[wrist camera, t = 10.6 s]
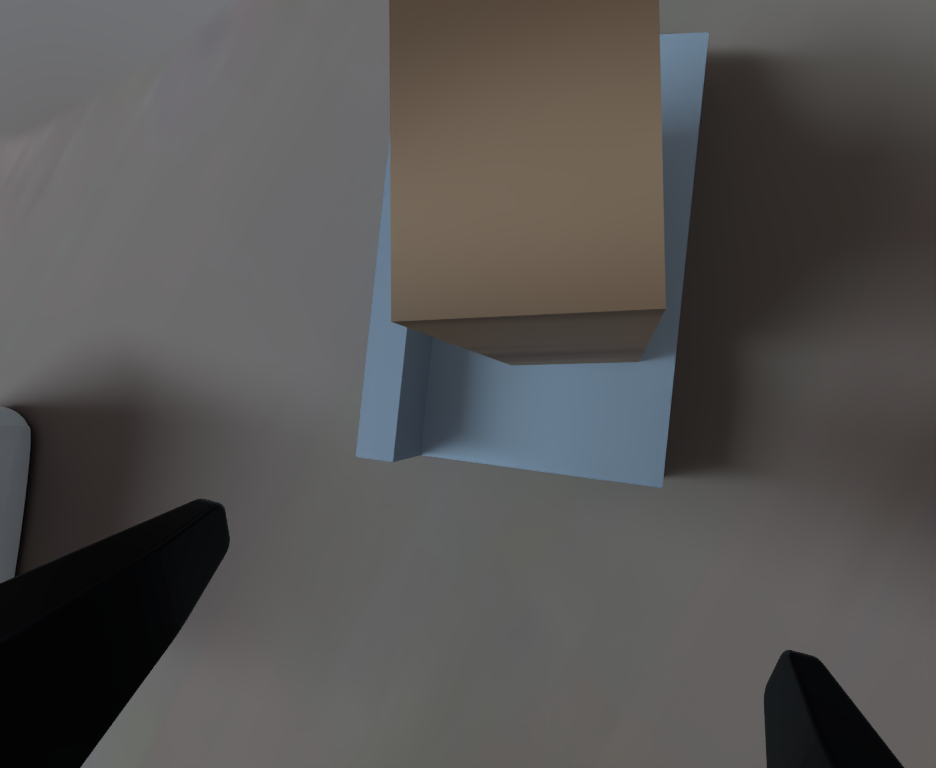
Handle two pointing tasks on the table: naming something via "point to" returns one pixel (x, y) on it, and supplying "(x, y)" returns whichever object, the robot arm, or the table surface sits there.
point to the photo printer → (12, 486)
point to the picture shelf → (542, 386)
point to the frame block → (528, 177)
